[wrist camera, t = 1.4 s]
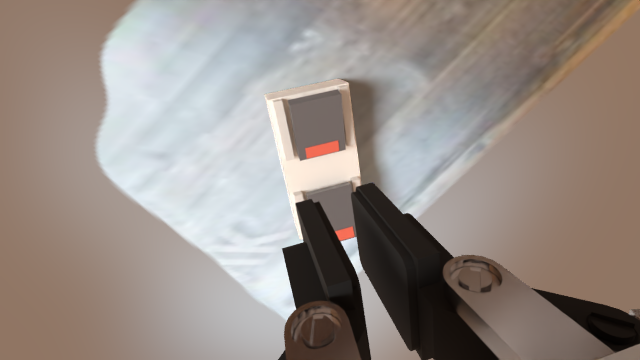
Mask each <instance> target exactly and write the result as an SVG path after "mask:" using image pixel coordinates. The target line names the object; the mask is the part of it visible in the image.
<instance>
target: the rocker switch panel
mask: <svg viewBox="0 0 640 360" xmlns="http://www.w3.org/2000/svg"><path fill="white" fill-rule="evenodd" d="M337 89H338V91H339V92H340V93H341V94H342V107H343V120H344V133H345V146H346V150H343V151H339V152H335V153H331V154H327V155H323V156H318V157H314V158H310V159H306V160H302V161H300V160H299V157H298V155H297V149H296V144H295V138H294V133H293V127H292V122H291V116H290V111H289V106H288V100H291V99H295V98H300V97H304V96H309V95H314V94H318V93H323V92H327V91H332V90H337ZM264 95H265V99H266V103H267V107H268V112H269V116H270V120H271V124H272V129H273V133H274V137H275V141H276V146H277V150H278V154H279V158H280V163H281V167H282V171H283V175H284V180H285V184H286V188H287V192H288V197H289V201H290V205H291V209H292V214H293V218H294V222H295V226H296V229H297V232H298V235H299V238H300V239H303V237H302V232H301V228H300V224H299V219H298V215H297V210H296V206H295V203H297V202H301V201H305V200H307V197H306V193H307V192H311V191H315V190H319V189H323V188H326V187H330V186H334V185H338V184H342V183H346V182H348V183H350V184H351V189H352V192H356V187H358V186H361V177H360V169H359V161H358V153H357V145H356V137H355V129H354V121H353V113H352V105H351V97H350V89H349V83H348V82H346V81H343V80H341V79H334V80H329V81H324V82H320V83H315V84H310V85H305V86H301V87H296V88H291V89H287V90H282V91H277V92H272V93H268V94H264Z"/></svg>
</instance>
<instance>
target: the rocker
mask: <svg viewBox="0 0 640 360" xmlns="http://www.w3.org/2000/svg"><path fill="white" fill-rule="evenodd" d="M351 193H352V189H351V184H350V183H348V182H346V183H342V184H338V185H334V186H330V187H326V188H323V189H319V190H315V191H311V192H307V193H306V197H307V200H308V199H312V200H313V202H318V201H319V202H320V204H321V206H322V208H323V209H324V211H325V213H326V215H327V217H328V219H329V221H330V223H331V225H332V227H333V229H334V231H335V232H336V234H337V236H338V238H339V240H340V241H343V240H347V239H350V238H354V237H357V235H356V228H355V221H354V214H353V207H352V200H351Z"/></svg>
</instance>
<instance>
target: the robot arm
mask: <svg viewBox="0 0 640 360" xmlns="http://www.w3.org/2000/svg"><path fill="white" fill-rule="evenodd" d="M351 200H352V207H353V214H354V221H355V228H356V235H357V242H358V249H359V256H360V261H361V264H362V267H363V269H364V271H365V273H366V274H367V276H368V277H369V280H370V281H371V283H372V285H373V287H374V289H375V290H376V292H377V294H378V296H379V297H380V299H381V301H382V303H383V304H384V306H385V308H386V310H387V312H388V313H389V315H390V317H391V319H392V321H393V323H394V324H395V326H396V328H397V330H398V331H399V333H400V335H401V337H402V339H403V340H404V342H405V344H406V346H407V347H408V349H409V350H410V351H413V350H416V351H417V353H418V354H419V356H420V358H421V360H428V359H431V358H433V359H434V360H640V309H631V310H630V313H629V314H628V313H626V312H624V311H622V310H619V309H616V308H613V307H610V306H607V305H603V304H598V303H594V302H590V301H585V300H581V299H576V298H572V297H568V296H564V295H559V294H555V293H550V292H546V291H542V290H537V289H533V288H530V287H529V286H528V285H526V284H525V283H524V282H522V281H521V280H520V279H518V278H517V277H516V276H514V275H513V274H512V273H511V272H509V271H508V270H507V269H505V268H504V267H503V266H501V265H500V264H498V263H497V262H495V261H493V260H491V259H488V258H485V257H482V256H475V255H462V256H458V257H455V258H454V257H453V256H452V255H451V254H450V253H449V252H448V251H447V250H446V249H445V248H444V247H443V246H442V245H441V244H440V243H439V242H438V241H437V240H436V239H435V238H434V237H433V236H432V235H431V234H430V233H429V232H428V231H427V230H426V229H425V228H424V227H423V226H422V225H421V224H420V223H419V222H418V221H417V220H416V219H415V218H414V217H413V216H412V215H411V214H409V213H406V214H402V212H401V211H400V210H399V209H398V208H397V207H396V206H395V205H394V204H393V203H392V202H391V201H390V200H389V199H388V198H387V197H386V196H385V195H384V194H383V193H382V192H381V190H380V189H379V188H378V187H377V186H376V185H375V184H374V183H369V184H365V185H361V186H358V187H356V192H352V193H351ZM295 206H296V210H297V215H298V219H299V224H300V228H301V232H302V237H303V241H304V242H303V243H300V244H296V245H293V246H289V247H286V248H282V250H283V254H284V259H285V263H286V267H287V272H288V276H289V280H290V285H291V289H292V293H293V298H294V302H295V306H296V310H295V311H294V312H293V313H292V314H291V315H290V317H289V318H288V320H287V322H286V324H285V331H284V340H285V351H284V352H283V354H282V355H281V357H280V358H279V359H278V360H371V355H370V349H369V342H368V335H367V328H366V322H365V315H364V308H363V303H362V302H363V301H362V295H361V288H360V284H359V280H358V277H357V274H356V271H355V269H354V267H353V265H352V263H351V261H350V259H349V257H348V256H347V254H346V252H345V250H344V248H343V246H342V244H341V242H340V240H339V238H338V236H337V234H336V232H335V231H334V229H333V227H332V225H331V223H330V221H329V219H328V217H327V215H326V213H325V211H324V209H323V208H322V206H321V204H320V202H319V201H318V202H313V200H312V199H308V200H305V201H301V202H297V203H295Z"/></svg>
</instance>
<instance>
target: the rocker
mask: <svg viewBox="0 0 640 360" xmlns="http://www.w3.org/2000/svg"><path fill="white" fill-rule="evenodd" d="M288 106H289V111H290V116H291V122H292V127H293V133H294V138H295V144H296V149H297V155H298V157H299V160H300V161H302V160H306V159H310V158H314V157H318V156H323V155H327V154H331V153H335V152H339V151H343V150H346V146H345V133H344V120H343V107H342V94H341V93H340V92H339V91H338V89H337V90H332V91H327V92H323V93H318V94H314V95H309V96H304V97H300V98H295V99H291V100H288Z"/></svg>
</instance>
